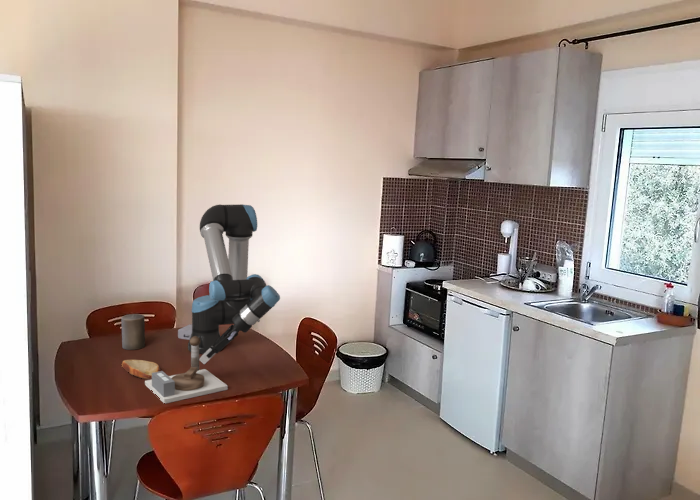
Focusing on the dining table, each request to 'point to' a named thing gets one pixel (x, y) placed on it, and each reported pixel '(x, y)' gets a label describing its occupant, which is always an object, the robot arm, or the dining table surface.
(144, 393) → the dining table surface
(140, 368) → the slice of bread
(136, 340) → the pillar candle
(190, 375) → the cam handle
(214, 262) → the robot arm
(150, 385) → the stand
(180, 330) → the charger
